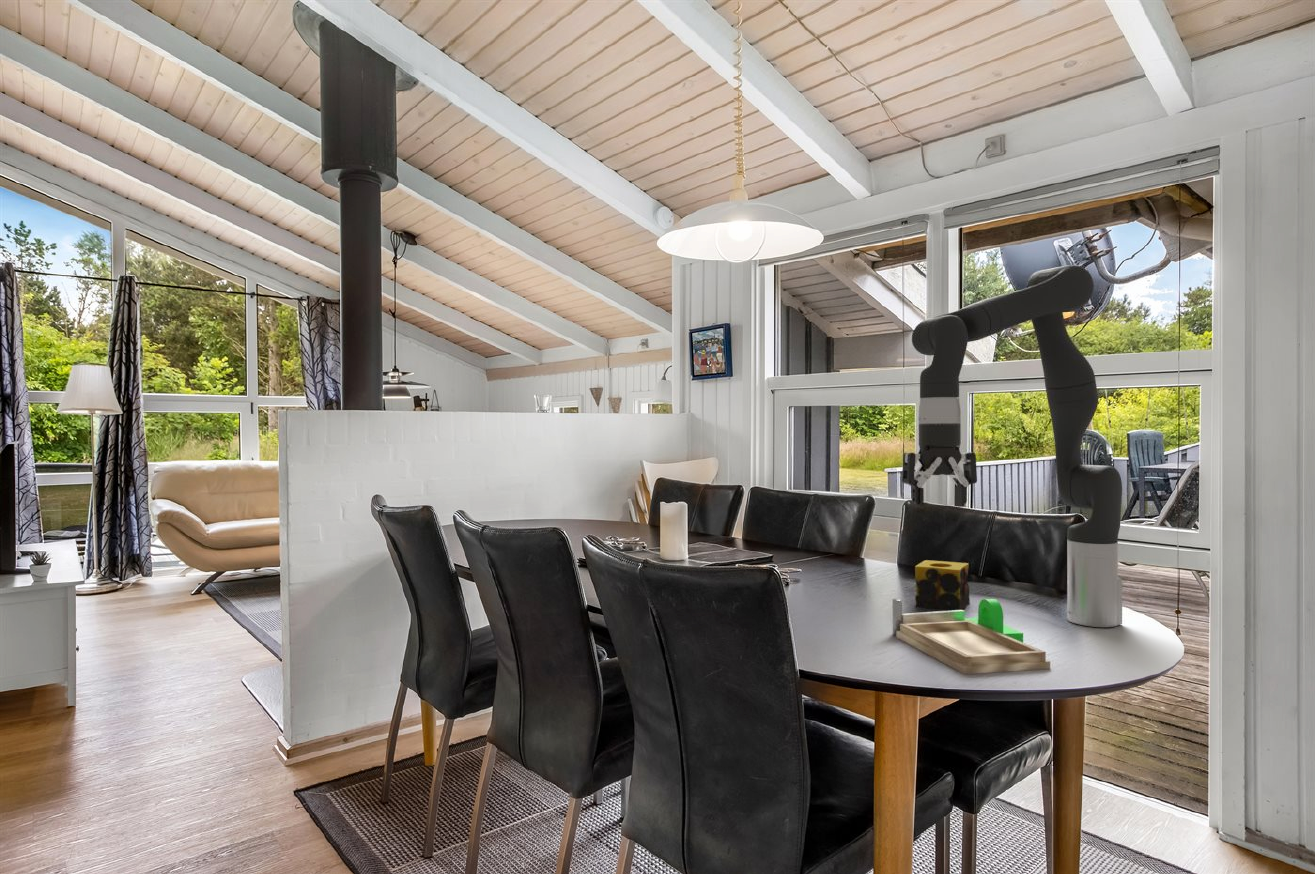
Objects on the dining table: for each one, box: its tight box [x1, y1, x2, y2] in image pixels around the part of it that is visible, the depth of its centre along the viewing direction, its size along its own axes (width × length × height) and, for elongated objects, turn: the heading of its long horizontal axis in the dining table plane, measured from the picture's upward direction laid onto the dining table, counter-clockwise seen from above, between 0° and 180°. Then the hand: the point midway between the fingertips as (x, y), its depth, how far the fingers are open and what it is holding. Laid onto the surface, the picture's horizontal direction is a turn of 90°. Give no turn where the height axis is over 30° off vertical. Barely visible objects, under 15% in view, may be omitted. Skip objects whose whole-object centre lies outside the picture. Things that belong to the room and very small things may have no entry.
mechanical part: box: [965, 598, 1024, 643], centre depth 148 cm, size 12×6×8 cm, turn 5°
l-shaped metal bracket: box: [892, 598, 966, 637], centre depth 150 cm, size 16×2×7 cm, turn 104°
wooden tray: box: [895, 620, 1051, 675], centre depth 136 cm, size 16×23×3 cm
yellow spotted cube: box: [914, 559, 971, 611], centre depth 171 cm, size 10×10×10 cm
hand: (939, 506), depth 142 cm, fingers open, 8 cm apart
